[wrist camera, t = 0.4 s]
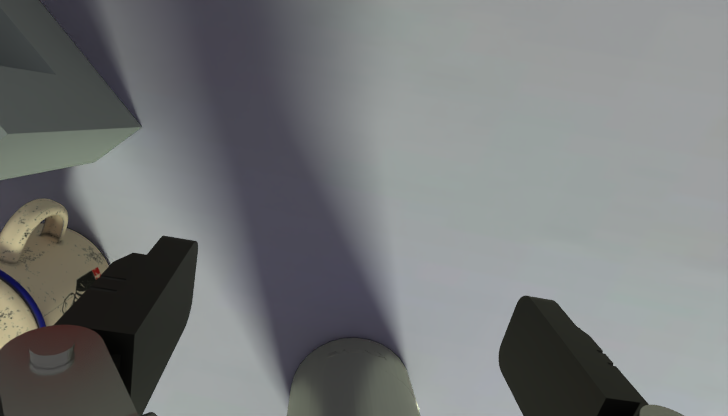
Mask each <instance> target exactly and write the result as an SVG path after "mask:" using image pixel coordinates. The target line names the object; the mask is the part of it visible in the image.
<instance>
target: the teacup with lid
mask: <svg viewBox="0 0 728 416" xmlns="http://www.w3.org/2000/svg"><path fill="white" fill-rule="evenodd" d="M44 219H45V222H44V224H40V222H41V221H43V220H44ZM67 224H68V213H67V210H66V209H65V207H64V206H63V205H61V204H59V203H57V202H55V201H53V200H50V199H36V200H33V201H31V202H29V203H27V204H25V205H24V206H22V207H21V208H20V209H19V210H18V211H17V212H16V213H15V214H14V215H13V216H12V217H11V218H10V219H9V221H8V222H7V223H6V225H5V227H4V228H3V230H2V232H1V233H0V349H1V348H2V347H3V346H4V345H5V344H6V343H8V342H9V341H10V340H12V339H13V338H15V337H17V336H18V335H21V334H23V333H25V332H28V331H31V330H34V329H37V328H41V327H46V326H52V325H54V324H55V323H56V322H57V321H58V320H59V319H60V318H61V317H62V315H63V314H64V313H65V312H66V311H67V310H68V309H69V308H70V307H71V306H72V305H73V304H74V303H75V302H76V301H77V300H78V299H79V297H80V296H81V295H82V294H83V293H84V292H85V291H86V290H87V289H90V286H91V285H92V284H93V283H94V282H95V281H96V279H97V278H100V276H101V274H102V273H103V272H104V271H105V270H106V269H107V268H108V267H109V266H108V263H107V262H106V260H105V258H104V256H103V255H102V253H101V252H100V251H99V250H98V249H97V247H96V246H95V245H94V244H93V243H91V242H90V241H89V240H88V239H86V238H85V237H84V236H82V235H80V234H79V233H77V232H75V231H73V230H71V229H68V228H67Z"/></svg>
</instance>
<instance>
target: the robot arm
mask: <svg viewBox="0 0 728 416" xmlns="http://www.w3.org/2000/svg"><path fill="white" fill-rule="evenodd" d="M197 254H198V243H197V241H192V240H186V239H180V238H174V237H168V236H162V237H161V238H160V239H159V241H158V242H157V243H156V244H155V245H154V247H153V248H152V249H151V250H150V252H149V253H148V254H147V255H144V254H138V253H132V254H129V255H127V256H125V257H123V258H121V259H119V260H116V261H114V262H113V263H112V264H111V265H110V266H109V267H108V268H107V269H106V270H105V271H104V272H103V273H102V274H101V276H100V278H97V279H96V281H95V282H94V283H93V284H92V285H91V286H90V289H87V290H86V291H85V292H84V293H83V294H82V295H81V296H80V297H79V299H78V300H77V301H76V302H75V303H74V304H73V305H72V306H71V307H70V308H69V309H68V310H67V311H66V312H65V313H64V314H63V315H62V317H61V318H60V319H59V320H58V321H57V322H56V323H55V324H54V325H52V326H46V327H41V328H37V329H34V330H31V331H28V332H25V333H23V334H21V335H18V336H17V337H15V338H13V339H12V340H10V341H9V342H8V343H6V344H5V345H4V346H3V347H2V348H1V349H0V416H157V415H156V414H155V413H153V412H149V413H147V414H144V415H142V414H143V412H144V410H145V408H146V406H147V404H148V402H149V400H150V398H151V396H152V394H153V392H154V390H155V388H156V385H157V383H158V381H159V379H160V377H161V375H162V373H163V371H164V369H165V367H166V365H167V363H168V361H169V359H170V357H171V355H172V353H173V351H174V349H175V347H176V345H177V343H178V341H179V339H180V337H181V335H182V333H183V330H184V328H185V326H186V324H187V321H188V317H189V314H190V310H191V305H192V298H193V289H194V280H195V272H196V263H197ZM602 352H603V351H602V350H601V348H600V347H599V346H598V345H597V344H596V343H595V342H594V340H593V339H592V338H591V337H590V336H589V335H588V334H586V333H585V332H584V331H582V330H581V329H580V328H578V327H577V326H576V325H575V324H574V323H573V322H572V320H571V319H570V318H569V317H568V316H567V314H566V313H565V312H564V311H563V310H562V309H561V307H560V306H559V305H558V304H557V303H556V302H555V301H553V300H548V299H542V298H536V297H530V296H523V297H521V298H520V299H519V301H518V302H517V305H516V307H515V310H514V312H513V315H512V317H511V320H510V323H509V325H508V328H507V330H506V333H505V335H504V338H503V341H502V343H501V346H500V350H499V366H500V370H501V372H502V374H503V376H504V378H505V380H506V382H507V384H508V386H509V388H510V390H511V392H512V394H513V396H514V398H515V400H516V402H517V404H518V406H519V408H520V410H521V412H522V414H523V416H684V415H682V414H680V413H678V412H676V411H674V410H671V409H669V408H666V407H662V406H658V405H649V404H648V403H647V402H646V401H645V400H644V399H643V397H642V396H641V395H640V394H639V393H638V392H637V390H636V389H635V388H634V387H633V386H632V385H631V383H630V382H629V381H628V380H627V379H626V378H625V376H624V375H623V374H622V373H621V372H620V371H619V369H618V368H617V367H616V366H613V362H612V361H611V360H610V359H609V358H608V357H607V355H606V354H603V353H602ZM287 416H420V412H419V408H418V405H417V402H416V398H415V395H414V392H413V389H412V385H411V382H410V379H409V376H408V373H407V370H406V368H405V366H404V365H403V363H402V362H401V360H400V359H399V358H398V357H397V356H396V355H395V354H394V353H393V352H392V351H391V350H390V349H388V348H386V347H385V346H383V345H381V344H379V343H377V342H374V341H371V340H367V339H360V338H344V339H339V340H335V341H331V342H329V343H327V344H325V345H323V346H320V347H318V348H317V349H316V350H314V351H313V352H312V353H310V354H309V355H308V356H307V357H306V358H305V360H304V361H303V362H302V363H301V364H300V366H299V368H298V369H297V371H296V373H295V375H294V378H293V382H292V385H291V390H290V397H289V404H288V411H287Z"/></svg>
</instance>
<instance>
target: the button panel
mask: <svg viewBox="0 0 728 416" xmlns="http://www.w3.org/2000/svg"><path fill="white" fill-rule="evenodd" d="M140 128H141V125H140V124H139V123H138V122H137V121H136V119H135V118H134V117H133V116H132V114H131V113H130V112H129V111H128V109H127V108H126V107H125V106H124V104H123V103H122V102H121V101H120V100H119V98H118V97H117V96H116V95H115V93H114V92H113V91H112V90H111V88H110V87H109V86H108V85H107V83H106V82H105V81H104V80H103V79H102V77H101V76H100V75H99V74H98V72H97V71H96V70H95V69H94V67H93V66H92V65H91V64H90V62H89V61H88V60H87V59H86V58H85V56H84V55H83V54H82V53H81V51H80V50H79V49H78V48H77V46H76V45H75V44H74V43H73V42H72V40H71V39H70V38H69V37H68V35H67V34H66V33H65V32H64V30H63V29H62V28H61V27H60V25H59V24H58V23H57V22H56V21H55V19H54V18H53V17H52V16H51V14H50V13H49V12H48V11H47V9H46V8H45V7H44V6H43V4H42V3H41V2H40V1H39V0H0V180H4V179H9V178H15V177H20V176H25V175H30V174H36V173H41V172H46V171H51V170H57V169H62V168H67V167H72V166H77V165H83V164H88V163H93V162H96V161H97V160H98V159H100V158H101V157H102V156H104V155H105V154H106V153H108V152H109V151H110V150H112V149H113V148H114V147H116V146H117V145H118V144H120V143H121V142H122V141H124V140H125V139H126V138H128V137H129V136H131V135H132V134H133V133H135V132H136V131H137V130H139V129H140Z"/></svg>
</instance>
